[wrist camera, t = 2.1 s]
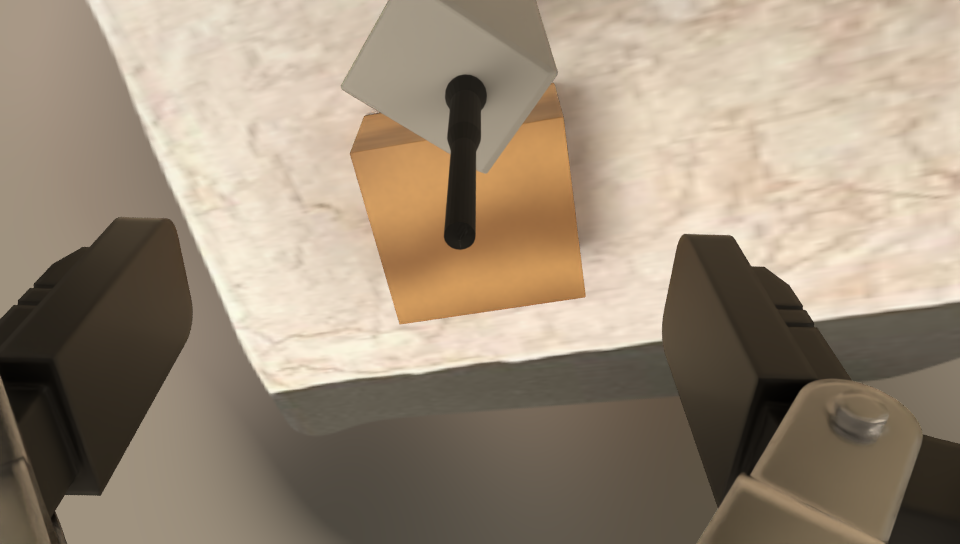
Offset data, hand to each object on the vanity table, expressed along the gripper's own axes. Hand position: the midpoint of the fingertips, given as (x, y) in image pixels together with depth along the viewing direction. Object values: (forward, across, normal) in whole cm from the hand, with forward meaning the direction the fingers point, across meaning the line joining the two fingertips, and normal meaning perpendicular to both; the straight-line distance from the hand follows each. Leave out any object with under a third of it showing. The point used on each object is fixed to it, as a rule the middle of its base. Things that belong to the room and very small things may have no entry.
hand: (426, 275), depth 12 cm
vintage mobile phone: (+27, 0, 0) cm, 27 cm away
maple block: (+27, -1, +11) cm, 29 cm away
